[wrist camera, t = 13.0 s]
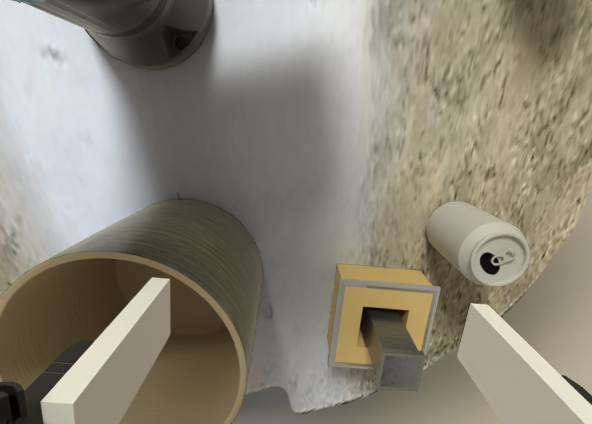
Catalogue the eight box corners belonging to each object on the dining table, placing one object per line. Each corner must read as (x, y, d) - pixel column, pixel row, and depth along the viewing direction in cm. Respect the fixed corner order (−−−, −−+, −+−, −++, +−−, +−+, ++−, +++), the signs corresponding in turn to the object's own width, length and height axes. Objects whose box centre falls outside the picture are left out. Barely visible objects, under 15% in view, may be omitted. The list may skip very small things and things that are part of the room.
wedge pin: (358, 289, 50) (382, 352, 36) (390, 291, 50) (425, 356, 36) (354, 316, 51) (376, 388, 37) (385, 319, 51) (417, 391, 37)
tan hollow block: (324, 338, 52) (328, 366, 46) (334, 260, 48) (340, 280, 43) (407, 345, 52) (421, 373, 46) (423, 268, 49) (440, 288, 43)
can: (413, 220, 47) (452, 254, 35) (461, 188, 46) (517, 212, 34) (441, 261, 48) (487, 305, 37) (488, 231, 47) (550, 267, 36)
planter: (230, 171, 45) (180, 212, 26) (288, 311, 51) (284, 431, 31) (81, 226, 47) (-69, 302, 28) (153, 355, 53) (70, 493, 33)
